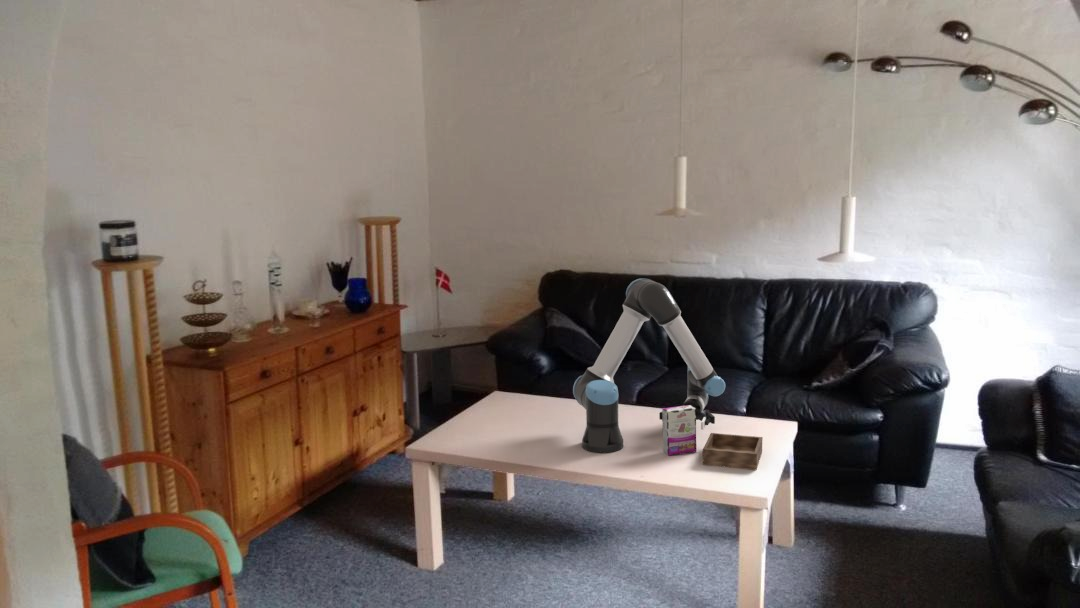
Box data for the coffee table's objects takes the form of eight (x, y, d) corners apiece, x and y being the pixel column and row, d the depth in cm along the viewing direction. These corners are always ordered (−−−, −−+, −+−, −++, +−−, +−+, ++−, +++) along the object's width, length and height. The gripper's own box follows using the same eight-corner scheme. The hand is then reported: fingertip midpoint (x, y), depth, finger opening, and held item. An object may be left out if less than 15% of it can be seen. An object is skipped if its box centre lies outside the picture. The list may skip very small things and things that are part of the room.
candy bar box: (690, 448, 311) (690, 404, 308) (696, 452, 307) (696, 408, 304) (661, 451, 308) (661, 407, 306) (667, 456, 304) (667, 411, 301)
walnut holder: (702, 464, 295) (702, 449, 294) (710, 447, 311) (711, 432, 310) (756, 469, 289) (756, 454, 288) (762, 452, 305) (762, 437, 304)
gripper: (726, 419, 324) (718, 437, 305) (660, 414, 333) (648, 431, 313) (726, 400, 323) (718, 416, 303) (660, 395, 331) (648, 411, 312)
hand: (683, 424), depth 308 cm, fingers open, 13 cm apart
